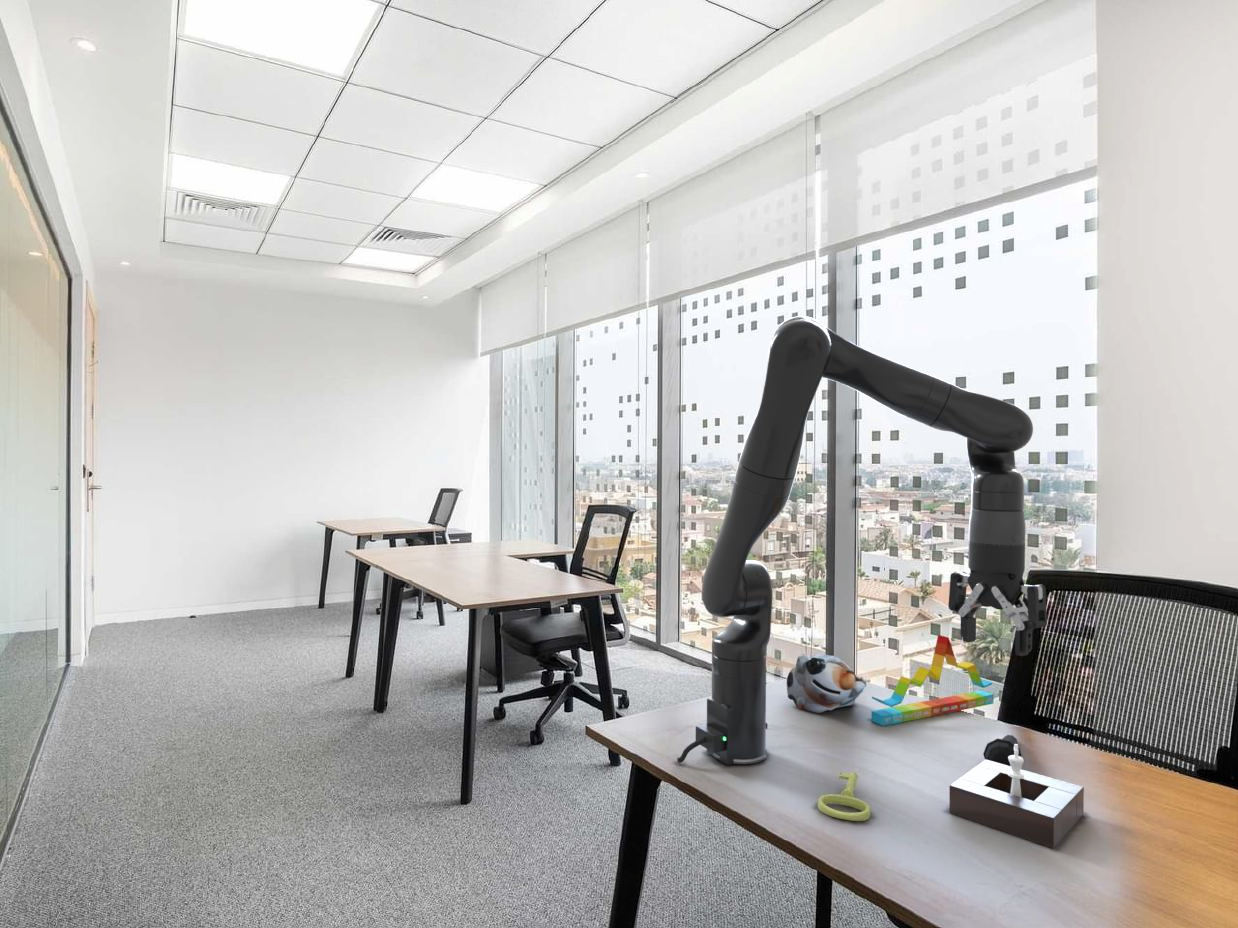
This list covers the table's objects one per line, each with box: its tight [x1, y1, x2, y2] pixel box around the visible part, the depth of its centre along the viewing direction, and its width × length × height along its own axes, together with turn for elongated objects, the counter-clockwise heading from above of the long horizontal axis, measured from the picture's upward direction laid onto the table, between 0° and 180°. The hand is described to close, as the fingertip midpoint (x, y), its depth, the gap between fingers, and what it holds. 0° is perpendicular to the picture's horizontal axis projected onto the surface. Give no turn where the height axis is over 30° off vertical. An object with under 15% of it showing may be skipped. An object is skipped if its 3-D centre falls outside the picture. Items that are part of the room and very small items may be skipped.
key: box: [817, 771, 872, 822], centre depth 110 cm, size 7×12×2 cm, turn 173°
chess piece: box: [1008, 744, 1025, 797], centre depth 107 cm, size 5×5×10 cm
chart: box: [871, 634, 995, 727], centre depth 149 cm, size 30×3×15 cm, turn 115°
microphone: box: [982, 734, 1023, 766], centre depth 126 cm, size 6×6×20 cm
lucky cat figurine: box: [786, 653, 867, 714], centre depth 151 cm, size 15×12×14 cm
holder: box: [948, 758, 1085, 849], centre depth 107 cm, size 14×14×4 cm
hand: (994, 647), depth 111 cm, fingers open, 8 cm apart
